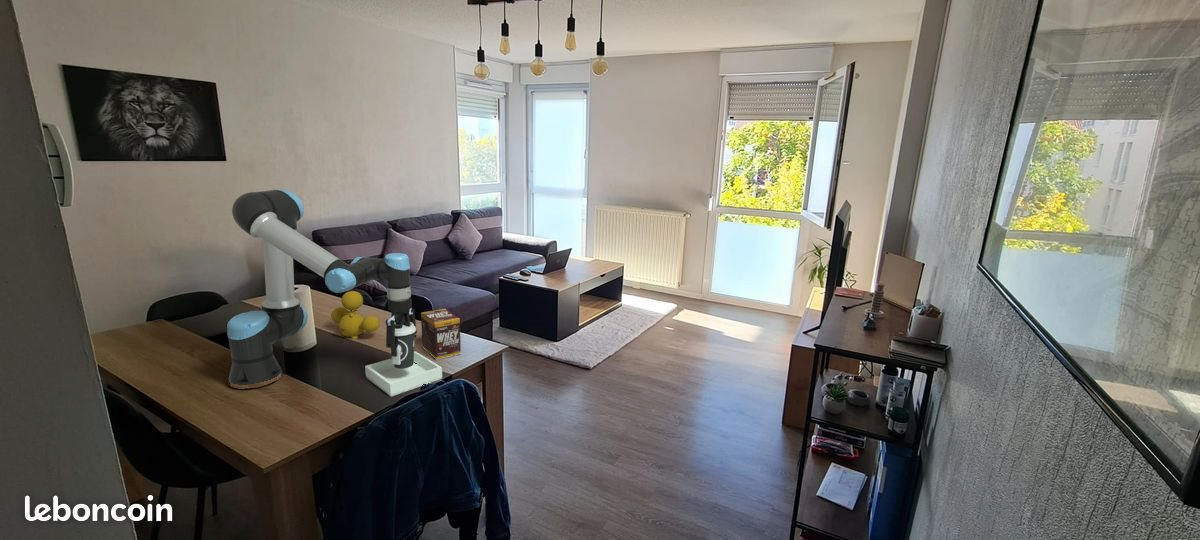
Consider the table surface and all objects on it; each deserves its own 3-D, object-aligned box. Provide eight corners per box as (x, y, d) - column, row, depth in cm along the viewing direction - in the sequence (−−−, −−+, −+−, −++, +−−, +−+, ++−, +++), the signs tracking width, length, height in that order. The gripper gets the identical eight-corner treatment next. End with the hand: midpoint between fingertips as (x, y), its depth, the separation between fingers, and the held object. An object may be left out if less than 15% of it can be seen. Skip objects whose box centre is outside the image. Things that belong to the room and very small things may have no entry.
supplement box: (436, 361, 190) (434, 323, 186) (422, 347, 201) (420, 312, 197) (461, 354, 196) (460, 318, 193) (446, 342, 208) (445, 307, 204)
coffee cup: (419, 368, 171) (417, 328, 168) (389, 372, 168) (386, 331, 164) (417, 357, 180) (414, 319, 176) (389, 361, 176) (386, 322, 172)
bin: (390, 396, 162) (390, 384, 161) (366, 377, 174) (365, 366, 173) (442, 378, 176) (441, 367, 175) (415, 362, 188) (415, 351, 187)
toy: (322, 333, 211) (317, 289, 206) (343, 326, 220) (340, 283, 215) (363, 346, 200) (360, 300, 195) (384, 338, 209) (381, 294, 204)
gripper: (391, 308, 157) (395, 372, 163) (425, 291, 177) (428, 349, 182) (370, 305, 159) (375, 370, 164) (406, 289, 178) (410, 346, 184)
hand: (403, 359), depth 173 cm, fingers closed on coffee cup, 7 cm apart
